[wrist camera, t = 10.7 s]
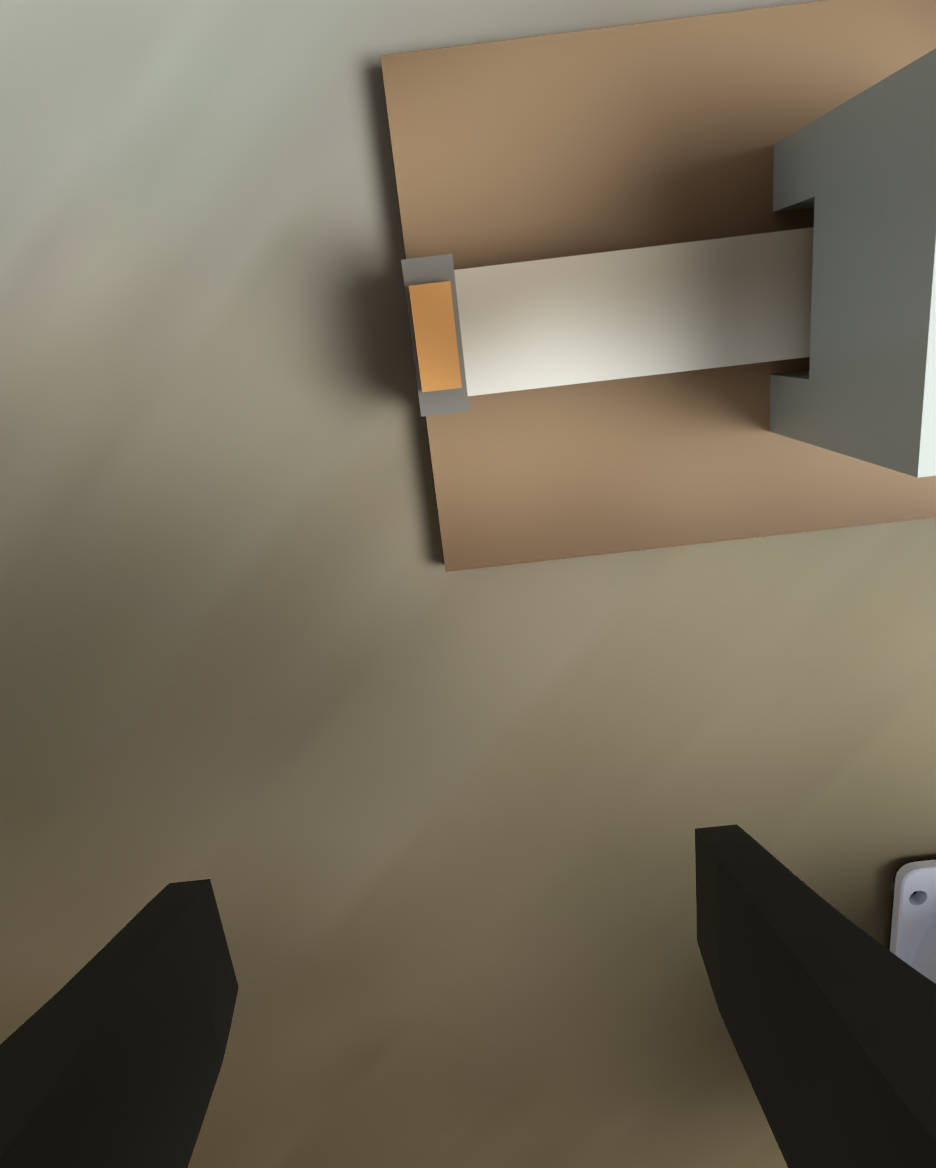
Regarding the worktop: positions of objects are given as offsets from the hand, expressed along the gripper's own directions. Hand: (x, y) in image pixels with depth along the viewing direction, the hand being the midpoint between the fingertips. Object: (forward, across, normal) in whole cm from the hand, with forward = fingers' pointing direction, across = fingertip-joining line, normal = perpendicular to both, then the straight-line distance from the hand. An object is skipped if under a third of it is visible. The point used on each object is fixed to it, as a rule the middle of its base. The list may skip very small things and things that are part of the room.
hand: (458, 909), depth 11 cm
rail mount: (+9, -9, -8) cm, 15 cm away
